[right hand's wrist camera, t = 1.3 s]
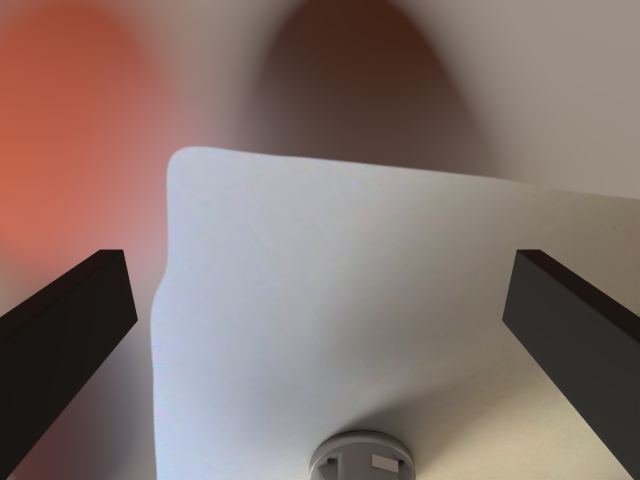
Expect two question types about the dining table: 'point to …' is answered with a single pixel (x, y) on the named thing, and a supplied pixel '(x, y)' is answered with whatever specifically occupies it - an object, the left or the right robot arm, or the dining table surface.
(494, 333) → the dining table surface
